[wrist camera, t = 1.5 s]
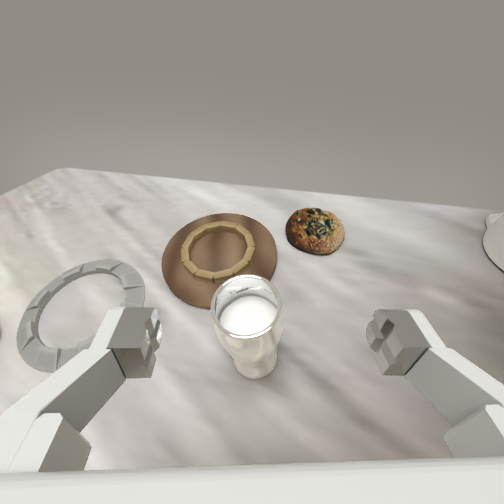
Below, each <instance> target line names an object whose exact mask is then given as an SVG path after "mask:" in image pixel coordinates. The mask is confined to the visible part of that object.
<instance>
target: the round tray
mask: <svg viewBox="0 0 504 504" xmlns="http://www.w3.org/2000/svg"><path fill="white" fill-rule="evenodd" d="M276 258H277V251H276V245H275V241H274V239H273V237H272V235H271V234H270V232H269V231H268V230H267V229H266V228H265V227H264V226H263V225H262V224H261V223H259V222H258V221H256V220H254V219H252V218H250V217H247V216H244V215H239V214H231V213H223V214H214V215H209V216H205V217H202V218H199V219H197V220H195V221H193V222H191V223H189V224H187V225H186V226H184V227H183V228H182V229H180V230H179V231H178V232H177V233H176V234H175V235H174V236H173V237H172V239H171V240H170V241H169V243H168V245H167V246H166V248H165V251H164V253H163V257H162V272H163V276H164V278H165V281H166V283H167V284H168V286H169V288H170V289H171V290H172V292H173V293H174V294H175V295H176V296H177V297H178V298H180V299H181V300H182V301H184V302H186V303H188V304H190V305H193V306H196V307H200V308H205V309H211V301H212V298H213V295H214V293H215V292H216V290H217V289H218V288H219V286H220V285H221V284H223V283H224V282H225V281H227V280H228V279H230V278H232V277H235V276H238V275H243V274H252V275H258V276H261V277H263V278H265V279H267V280H268V281H270V279H271V277H272V275H273V273H274V270H275V267H276Z"/></svg>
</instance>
